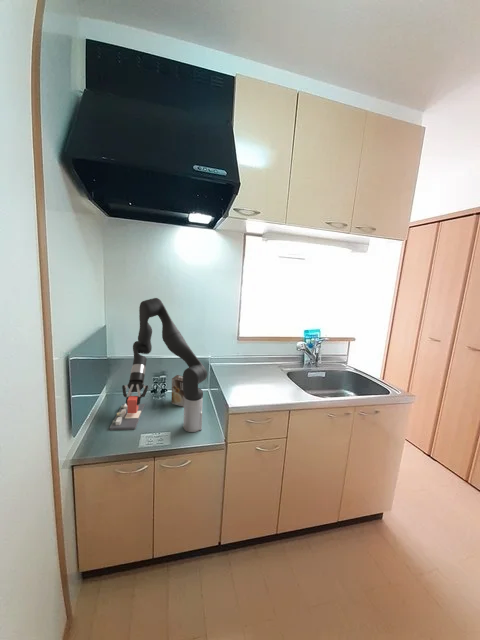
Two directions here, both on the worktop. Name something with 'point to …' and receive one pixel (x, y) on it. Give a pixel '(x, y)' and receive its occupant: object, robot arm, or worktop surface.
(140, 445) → the worktop surface
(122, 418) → the panel
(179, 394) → the coffee box
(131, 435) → the worktop surface
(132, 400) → the coral red square block
